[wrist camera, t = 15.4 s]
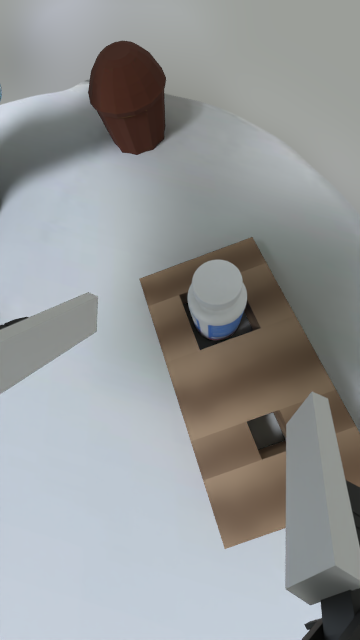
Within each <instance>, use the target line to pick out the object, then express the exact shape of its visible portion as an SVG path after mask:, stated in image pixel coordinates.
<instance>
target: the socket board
mask: <svg viewBox="0 0 360 640" xmlns="http://www.w3.org/2000/svg"><path fill="white" fill-rule="evenodd" d="M211 260H225V261H228V262H230V263H232V264H233V265H235V266H236V267H237V268H238V270H239V271H240V273H241V276H242V280H243V283H244V285H245V287H246V291H247V303H246V307H245V309H244V312H245V314H246V316H247V318H248V321H249V323H250V325H251V327H252V329H253V331H251V332H249V333H246V334H243V335H240V336H238V337H235V338H232V339H229V340H227V341H224V342H221V343H218V344H216V345H213V346H210V347H207V348H205V349H202V350H200V349H199V346H198V344H197V341H196V338H195V336H194V333H193V330H192V328H191V325H190V322H189V320H188V317H187V314H186V312H185V309H184V306H183V304H185V303H188V290H189V288H190V285H191V284H192V278H193V275H194V273H195V271H196V270H197V269H198V268H199V267H200V266H201V265H202V264H204V263H205V262H208V261H211ZM140 282H141V285H142V289H143V292H144V295H145V298H146V301H147V304H148V308H149V311H150V314H151V317H152V320H153V323H154V326H155V330H156V333H157V336H158V339H159V342H160V345H161V349H162V352H163V355H164V358H165V361H166V364H167V368H168V371H169V374H170V377H171V380H172V383H173V386H174V390H175V393H176V396H177V399H178V402H179V405H180V409H181V412H182V415H183V418H184V421H185V424H186V428H187V431H188V434H189V437H190V440H191V443H192V446H193V450H194V453H195V456H196V459H197V462H198V465H199V469H200V472H201V475H202V478H203V481H204V484H205V488H206V491H207V494H208V497H209V500H210V503H211V506H212V510H213V513H214V516H215V519H216V522H217V525H218V529H219V532H220V535H221V538H222V541H223V544H224V548H225V549H226V548H229V547H232V546H235V545H238V544H241V543H243V542H246V541H249V540H252V539H255V538H258V537H261V536H263V535H266V534H269V533H272V532H275V531H278V530H281V529H283V528H286V424H287V423H288V421H289V420H290V419H291V418H292V416H293V415H294V414H295V412H296V411H297V410H298V409H299V407H300V406H301V405H302V403H303V402H304V401H305V400H306V398H307V397H308V396H309V394H310V393H311V392H314V393H317V394H319V395H321V396H323V397H326V398H328V401H329V405H330V410H331V415H332V420H333V424H334V429H335V434H336V438H337V443H338V448H339V452H340V457H341V462H342V466H343V471H344V476H345V480H347V481H349V482H351V483H353V484H355V485H356V486H358V487H360V433H359V431H358V429H357V427H356V425H355V423H354V422H353V420H352V418H351V416H350V414H349V413H348V411H347V409H346V407H345V405H344V403H343V402H342V400H341V398H340V396H339V394H338V392H337V391H336V389H335V387H334V385H333V383H332V382H331V380H330V378H329V376H328V374H327V372H326V371H325V369H324V367H323V365H322V363H321V361H320V360H319V358H318V356H317V354H316V352H315V351H314V349H313V347H312V345H311V343H310V341H309V340H308V338H307V336H306V334H305V332H304V330H303V329H302V327H301V325H300V323H299V321H298V320H297V318H296V316H295V314H294V312H293V310H292V309H291V307H290V305H289V303H288V301H287V299H286V298H285V296H284V294H283V292H282V290H281V288H280V287H279V285H278V283H277V281H276V279H275V278H274V276H273V274H272V272H271V270H270V268H269V267H268V265H267V263H266V261H265V259H264V257H263V256H262V254H261V252H260V250H259V248H258V247H257V245H256V243H255V241H254V239H253V237H251V238H248V239H246V240H243V241H240V242H238V243H235V244H232V245H230V246H227V247H224V248H221V249H219V250H216V251H213V252H211V253H208V254H205V255H202V256H200V257H197V258H194V259H192V260H189V261H186V262H184V263H181V264H178V265H175V266H173V267H170V268H167V269H165V270H162V271H159V272H156V273H154V274H151V275H148V276H146V277H143V278H140ZM272 412H273V413H274V415H275V417H276V419H277V422H278V424H279V426H280V428H281V431H282V433H283V435H284V438H285V441H282V442H279V443H277V444H274V445H271V446H268V447H265V448H263V449H260V450H258V449H257V446H256V444H255V441H254V439H253V436H252V434H251V431H250V429H249V427H248V424H247V421H250V420H252V419H255V418H258V417H261V416H263V415H266V414H269V413H272Z"/></svg>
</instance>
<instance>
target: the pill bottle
mask: <svg viewBox="0 0 360 640" xmlns="http://www.w3.org/2000/svg"><path fill="white" fill-rule="evenodd" d="M246 303H247V291H246V287H245V285H244V283H243V280H242V276H241V273H240V271H239V270H238V268H237V267H236V266H235V265H233V264H232V263H230V262H228V261H225V260H211V261H208V262H205V263H204V264H202V265H201V266H200V267H199V268H198V269H197V270H196V271H195V273H194V275H193V278H192V284H191V285H190V288H189V290H188V305H189V309H190V312H191V316H192V319H193V322H194V325H195V328H196V329H197V331H198V332H199V333H200V334H201V335H202V336H203V337H205V338H207V339H210V340H215V341H218V340H224V339H226V338H228V337H230V336H231V335H233V334H234V333H235V331H236V330H237V328H238V326H239V323H240V321H241V318H242V315H243V312H244V309H245V307H246Z"/></svg>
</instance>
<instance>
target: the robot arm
mask: <svg viewBox="0 0 360 640" xmlns="http://www.w3.org/2000/svg"><path fill="white" fill-rule="evenodd" d="M1 97H2V90H1V85H0V101H1ZM97 308H98V296H95V295H93V294H91V293H89V292H88V293H85V294H83V295H81V296H78V297H76V298H74V299H71V300H69V301H67V302H64V303H62V304H60V305H57V306H55V307H53V308H50V309H48V310H45V311H43V312H41V313H38V314H36V315H34V316H31V317H24V318H19V319H15V320H12V321H10V322H7V323H5V324H4V325H0V394H1V393H3V392H4V391H6V390H8V389H9V388H11V387H12V386H14V385H15V384H17V383H18V382H20V381H21V380H23V379H24V378H26V377H28V376H29V375H31V374H32V373H34V372H35V371H37V370H38V369H40V368H41V367H43V366H44V365H46V364H48V363H49V362H51V361H52V360H54V359H55V358H57V357H58V356H60V355H61V354H63V353H64V352H66V351H68V350H69V349H71V348H72V347H74V346H75V345H77V344H78V343H80V342H81V341H83V340H84V339H86V338H88V337H89V336H91V335H92V334H94V333H95V332H97ZM285 589H286V590H288V591H289V592H291V593H292V594H294V595H295V596H297V597H298V598H300V599H301V600H303V601H305V602H306V603H308V604H309V605H312V604H315V603H318V602H321V610H322V618H321V619H317V620H314V621H310V622H308V623H306V624H304V625H305V627H306V629H307V630H309V632H308V633H307V634H306V635H305V636H304V638H303V639H302V640H360V487H358V486H356V485H355V484H353V483H351V482H349V481H347V480H345V476H344V471H343V466H342V462H341V457H340V452H339V448H338V443H337V438H336V434H335V429H334V424H333V420H332V415H331V410H330V405H329V401H328V398H326V397H323V396H321V395H319V394H317V393H314V392H311V393H310V394H309V396H308V397H307V398H306V400H305V401H304V402H303V403H302V405H301V406H300V407H299V409H298V410H297V411H296V412H295V414H294V415H293V416H292V418H291V419H290V420H289V421H288V423H287V424H286V579H285Z"/></svg>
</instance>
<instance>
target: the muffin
mask: <svg viewBox="0 0 360 640" xmlns="http://www.w3.org/2000/svg"><path fill="white" fill-rule="evenodd" d="M165 82H166V77H165V75H164V72H163V70H162V68H161V67H160V65H159V64H158V63H157V62H156V60H155V59H154V58H153V56H152V55H151V54H150V53H149V52H148V51H146V50H145V49H143V48H142V47H140V46H139V45H137V44H135V43H133V42H128V41H119V42H114V43H112V44H110V45H108V46H106V47H105V48H104V49H103V50H102V51H101V52H100V54H99V55H98V57H97V59H96V61H95V63H94V66H93V68H92V71H91V75H90V83H89V91H88V94H89V98H90V103H91V105H92V106H93V107H94V108H95V109H96V110H97V112H98V114H99V116H100V117H101V119H102V121H103V123H104V125H105V127H106V128H107V130H108V132H109V134H110V136H111V137H112V139H113V141H114V143H115V144H116V145H117V146H118V147H119V148H120V150H121V151H122V152H123V153H132V154H135V155H138V154H141V153H143V152H146V151H150V150H153V149H154V148H155V147H156V146H157V145H158V144H159V143H160V142H161V141H162V140H163V139H164V130H165V105H164V88H165Z"/></svg>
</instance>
